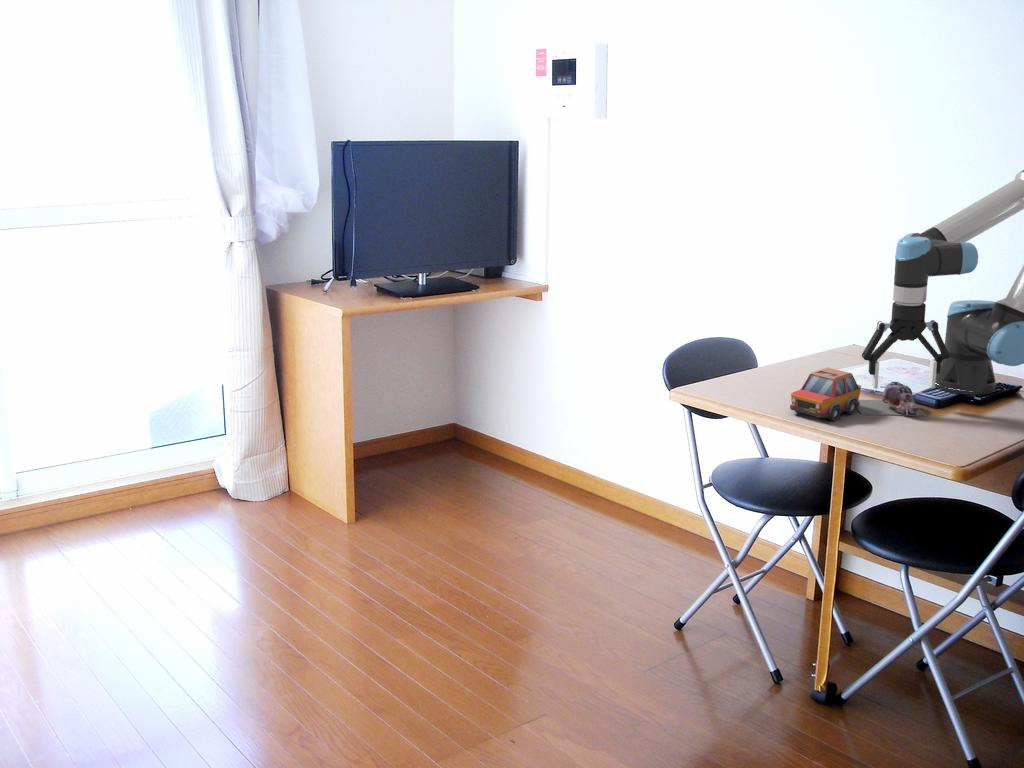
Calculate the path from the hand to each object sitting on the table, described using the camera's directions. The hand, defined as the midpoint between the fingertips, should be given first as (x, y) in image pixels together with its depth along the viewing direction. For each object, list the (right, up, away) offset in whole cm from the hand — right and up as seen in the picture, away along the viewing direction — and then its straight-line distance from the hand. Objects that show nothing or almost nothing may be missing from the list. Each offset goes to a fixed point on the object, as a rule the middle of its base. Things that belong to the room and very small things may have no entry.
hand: (903, 386), depth 257 cm
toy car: (-19, -7, 0) cm, 21 cm away
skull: (-1, -6, 0) cm, 6 cm away
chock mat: (-3, -5, +2) cm, 7 cm away
